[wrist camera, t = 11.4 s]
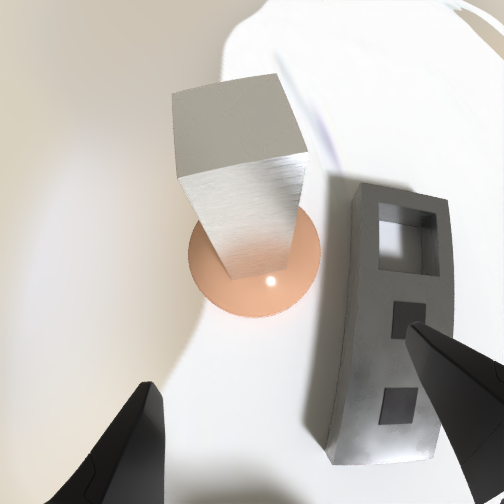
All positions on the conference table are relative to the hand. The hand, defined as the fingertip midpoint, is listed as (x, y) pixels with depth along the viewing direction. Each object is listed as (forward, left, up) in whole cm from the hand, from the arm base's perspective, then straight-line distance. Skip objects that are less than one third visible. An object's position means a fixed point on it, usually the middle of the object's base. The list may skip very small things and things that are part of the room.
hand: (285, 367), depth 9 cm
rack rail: (+9, -3, -12) cm, 16 cm away
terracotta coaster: (+3, +8, -12) cm, 15 cm away
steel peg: (+3, +8, -11) cm, 14 cm away
